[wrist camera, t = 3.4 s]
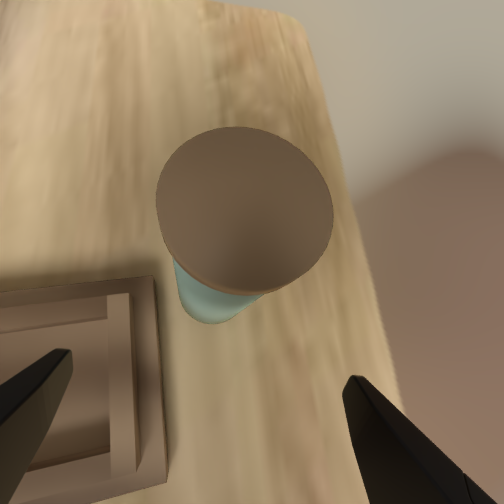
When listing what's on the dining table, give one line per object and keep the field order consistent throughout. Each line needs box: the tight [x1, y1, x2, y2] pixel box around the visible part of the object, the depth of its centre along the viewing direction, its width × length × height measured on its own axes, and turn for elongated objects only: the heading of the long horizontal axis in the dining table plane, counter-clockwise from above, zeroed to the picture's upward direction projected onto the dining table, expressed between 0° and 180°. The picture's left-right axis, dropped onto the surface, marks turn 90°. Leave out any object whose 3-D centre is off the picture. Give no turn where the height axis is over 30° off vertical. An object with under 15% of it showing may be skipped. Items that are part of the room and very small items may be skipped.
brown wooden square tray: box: [0, 276, 168, 504], centre depth 16 cm, size 12×12×3 cm
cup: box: [156, 127, 333, 324], centre depth 15 cm, size 5×5×14 cm
